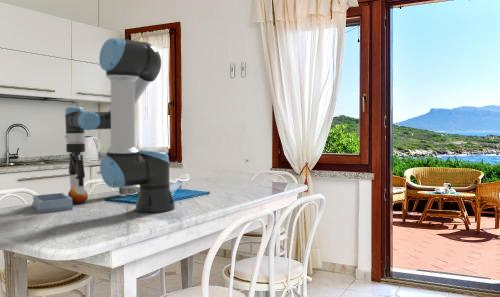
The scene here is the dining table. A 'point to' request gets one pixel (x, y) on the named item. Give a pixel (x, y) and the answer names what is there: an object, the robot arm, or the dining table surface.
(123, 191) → the decorative candle
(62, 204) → the blue-grey open box
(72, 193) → the fruit
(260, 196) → the dining table surface
